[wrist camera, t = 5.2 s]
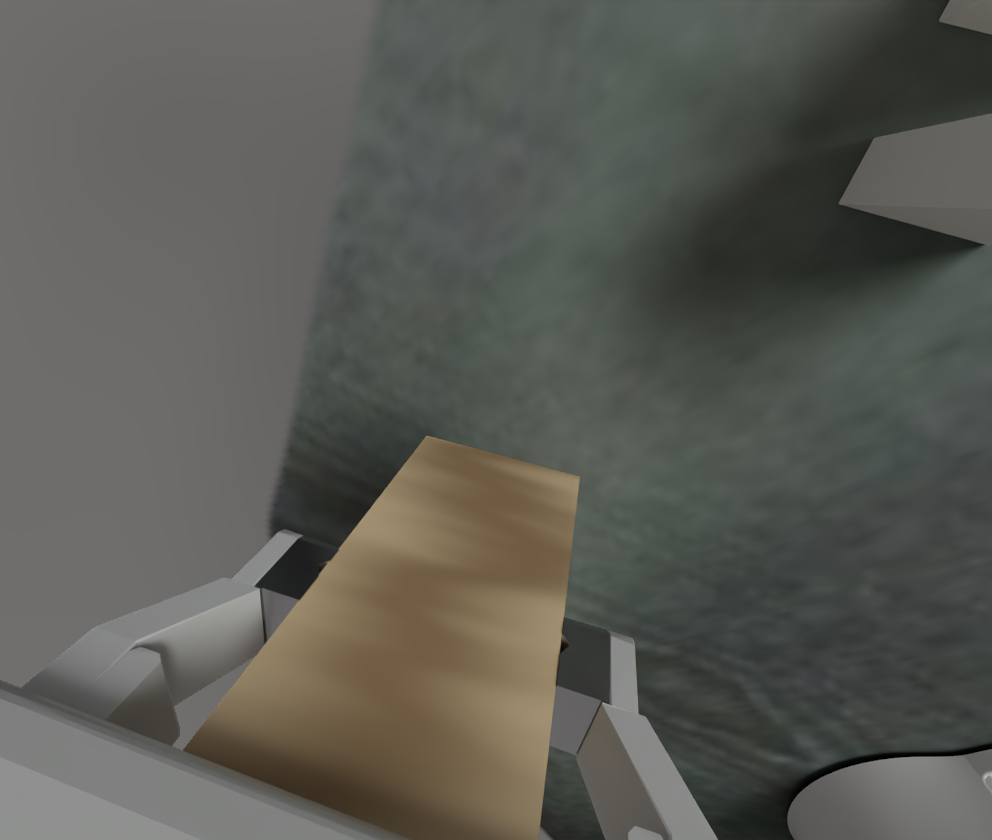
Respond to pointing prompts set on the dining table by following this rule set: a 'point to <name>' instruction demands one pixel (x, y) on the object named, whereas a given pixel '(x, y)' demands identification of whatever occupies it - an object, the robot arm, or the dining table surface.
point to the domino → (419, 657)
